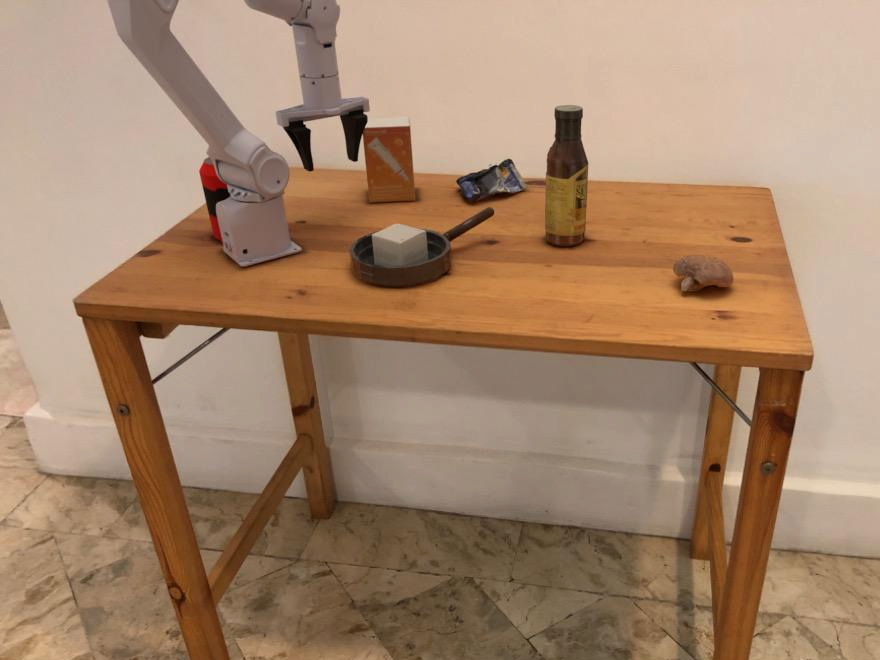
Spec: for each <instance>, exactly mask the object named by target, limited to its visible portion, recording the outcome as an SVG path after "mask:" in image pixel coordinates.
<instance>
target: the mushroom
mask: <svg viewBox="0 0 880 660" xmlns="http://www.w3.org/2000/svg"><path fill="white" fill-rule="evenodd" d="M672 270H673V273H674V275H675V276H677V277H685V278H684V279H683V280H682V281H681V284H680V290H681V291H682V292H697V291H700V290H703V289H704V288H705V287H707V286H716V287H718V288H728V287H730V286H732V283H733V282H734V273H733V270H732V268H730V266H729V265H728V264H727V263H725V262H724V261H721V260H720V259H718V258H717V257H712V256H705V255H702V254H688V255H684V256H682V257H679V258H678V259H677V260H675V261H674V263H673V264H672Z"/></svg>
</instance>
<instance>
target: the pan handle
mask: <svg viewBox="0 0 880 660" xmlns="http://www.w3.org/2000/svg"><path fill="white" fill-rule="evenodd" d="M494 215H495V209H494V208H493V207H492V206H487V207H486V208H484V209H482V210H481V211H479V212H477V213H476V214H474V215H472V216H470V217H469V218H467V219H465V220H464V221H461V223H459V224H457V225H456V226H454V227H452V228H451V229H448V230H447V231H445V232H444V233H443V234H442V235H443V236H445V237H446V238H447V239H448V240H449V242H450V243H451V242H452V241H454V240H456V239H457V238H459V237H461V236H462V235H464V234H466V233H467V232H469V231H471V230H472V229H474V228H476V227H477V226H479V225H480V224H482V223H483V222H486V221H488V219H490V218H492V217H494Z"/></svg>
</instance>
